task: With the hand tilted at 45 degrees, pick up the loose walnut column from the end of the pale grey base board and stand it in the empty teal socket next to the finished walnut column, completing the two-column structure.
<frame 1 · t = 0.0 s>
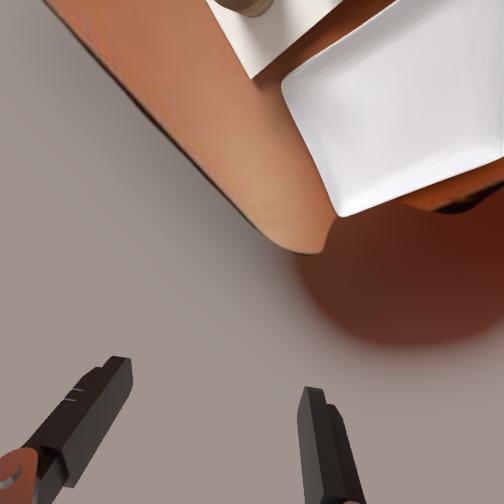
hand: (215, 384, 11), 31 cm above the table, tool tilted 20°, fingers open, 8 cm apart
salad plate: (391, 112, 30), on the table
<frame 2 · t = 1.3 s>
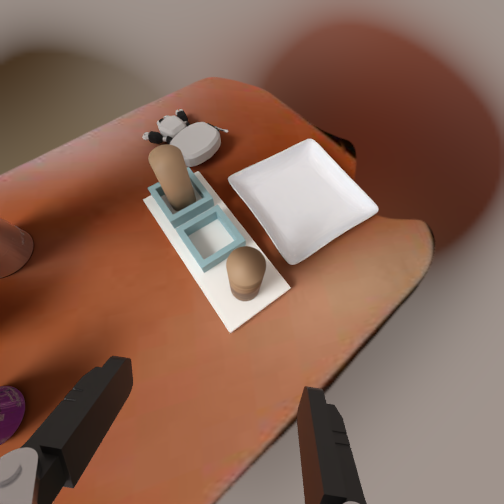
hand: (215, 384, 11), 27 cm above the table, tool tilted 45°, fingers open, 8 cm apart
base board: (213, 244, 42), on the table
walnut column: (245, 286, 38), point 2 cm above the table, touching base board
robot toy: (187, 147, 51), on the table
beverage can: (2, 414, 32), on the table
salad plate: (298, 203, 47), on the table
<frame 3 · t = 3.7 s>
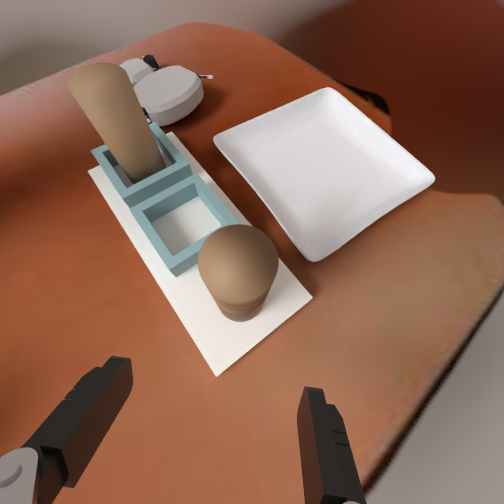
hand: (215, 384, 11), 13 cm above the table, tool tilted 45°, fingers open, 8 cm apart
base board: (191, 234, 28), on the table
walnut column: (240, 297, 24), point 2 cm above the table, touching base board
robot toy: (158, 105, 37), on the table
salad plate: (315, 175, 33), on the table
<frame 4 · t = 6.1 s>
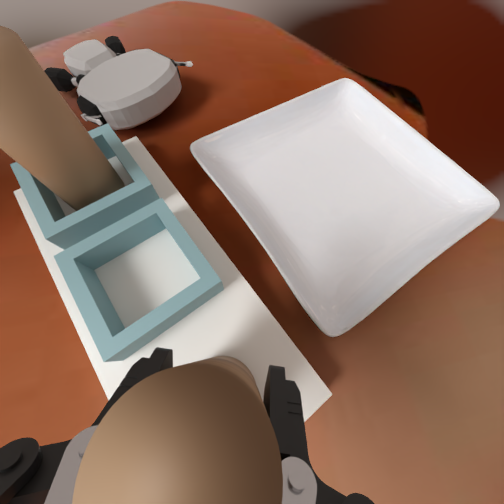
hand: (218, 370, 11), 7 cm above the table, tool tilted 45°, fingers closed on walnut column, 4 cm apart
base board: (156, 283, 20), on the table
walnut column: (221, 395, 16), point 2 cm above the table, touching base board, gripper
robot toy: (125, 101, 29), on the table
salad plate: (329, 195, 25), on the table
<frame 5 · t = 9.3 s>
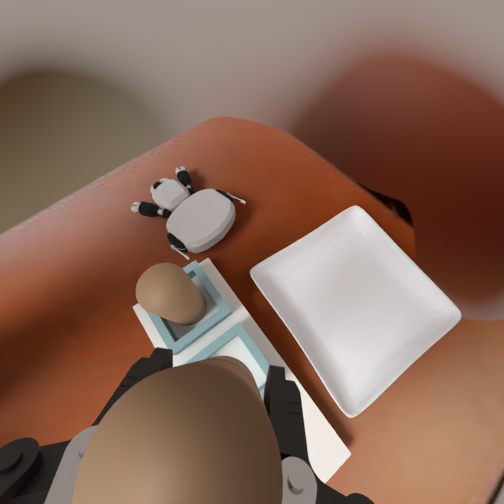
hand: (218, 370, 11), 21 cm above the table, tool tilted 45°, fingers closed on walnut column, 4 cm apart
base board: (232, 372, 30), on the table
walnut column: (221, 394, 16), point 16 cm above the table, touching gripper
robot toy: (190, 217, 39), on the table
salad plate: (344, 297, 35), on the table
when the fingers open (8 cm above the table, at t = 12.7 s): walnut column drops 2 cm, resting on base board.
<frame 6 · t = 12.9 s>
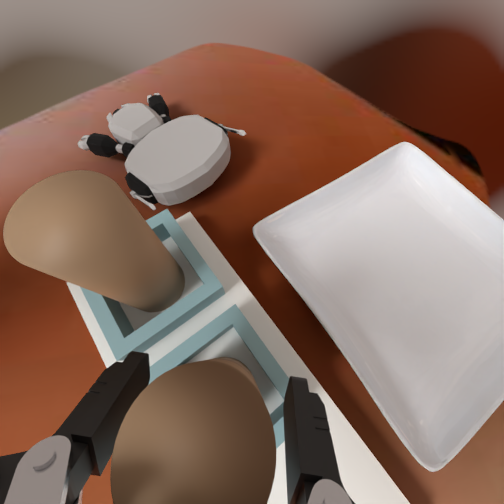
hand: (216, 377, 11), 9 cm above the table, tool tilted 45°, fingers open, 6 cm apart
base board: (224, 388, 18), on the table
walnut column: (223, 393, 17), point 2 cm above the table, touching base board
robot toy: (167, 163, 27), on the table
salad plate: (393, 273, 23), on the table
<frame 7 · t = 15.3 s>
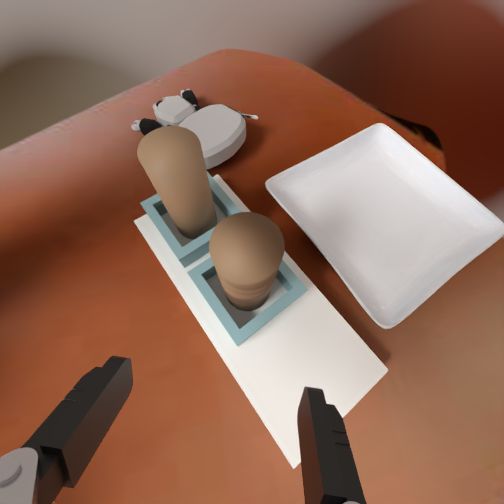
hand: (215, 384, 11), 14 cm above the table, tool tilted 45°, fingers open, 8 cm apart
base board: (246, 290, 26), on the table
walnut column: (247, 288, 25), point 2 cm above the table, touching base board
robot toy: (196, 142, 36), on the table
salad plate: (370, 219, 31), on the table
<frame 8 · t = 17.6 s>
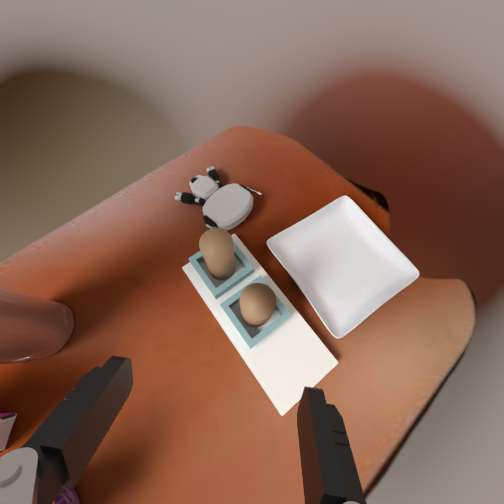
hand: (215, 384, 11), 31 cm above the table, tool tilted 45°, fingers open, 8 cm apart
base board: (254, 313, 42), on the table
walnut column: (255, 312, 41), point 2 cm above the table, touching base board
robot toy: (218, 205, 51), on the table
salad plate: (335, 263, 47), on the table
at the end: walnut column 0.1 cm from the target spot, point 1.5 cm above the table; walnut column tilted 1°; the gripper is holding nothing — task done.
